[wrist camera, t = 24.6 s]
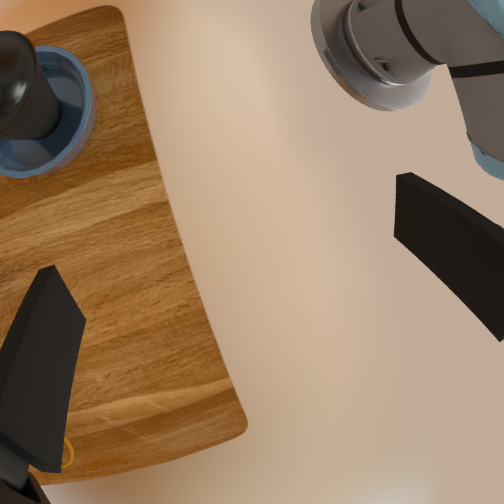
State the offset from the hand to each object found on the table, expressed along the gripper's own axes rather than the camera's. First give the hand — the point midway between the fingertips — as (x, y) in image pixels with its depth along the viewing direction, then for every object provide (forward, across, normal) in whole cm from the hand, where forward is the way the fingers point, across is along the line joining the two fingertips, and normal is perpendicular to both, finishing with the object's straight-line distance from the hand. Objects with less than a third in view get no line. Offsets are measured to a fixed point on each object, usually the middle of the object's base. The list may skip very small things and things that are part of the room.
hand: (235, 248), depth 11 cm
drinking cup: (+22, -15, +7) cm, 28 cm away
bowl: (+22, -15, +7) cm, 28 cm away
